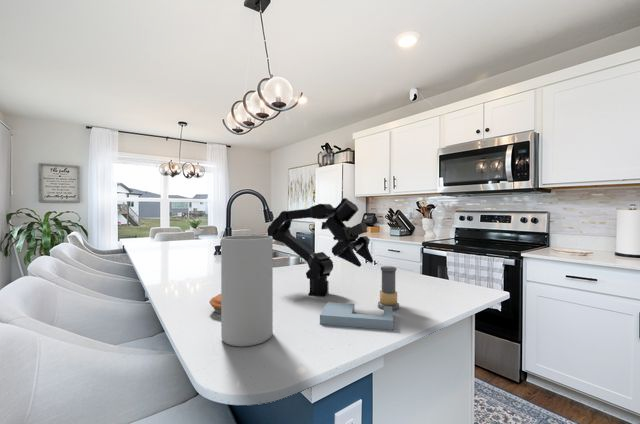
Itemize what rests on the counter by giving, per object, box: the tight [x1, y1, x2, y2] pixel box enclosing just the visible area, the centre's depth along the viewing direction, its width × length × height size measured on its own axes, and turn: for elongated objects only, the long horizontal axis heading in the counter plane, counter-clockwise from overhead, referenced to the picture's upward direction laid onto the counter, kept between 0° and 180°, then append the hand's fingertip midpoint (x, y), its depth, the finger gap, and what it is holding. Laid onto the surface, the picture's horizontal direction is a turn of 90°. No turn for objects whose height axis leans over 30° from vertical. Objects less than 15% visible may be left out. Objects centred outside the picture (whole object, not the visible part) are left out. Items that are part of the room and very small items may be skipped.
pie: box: [209, 293, 221, 316], centre depth 95 cm, size 16×16×5 cm
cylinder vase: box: [220, 234, 274, 347], centre depth 75 cm, size 12×12×25 cm
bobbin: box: [377, 265, 400, 312], centre depth 98 cm, size 7×7×13 cm
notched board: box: [319, 301, 394, 331], centre depth 87 cm, size 20×12×2 cm, turn 78°
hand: (366, 264), depth 103 cm, fingers open, 9 cm apart
